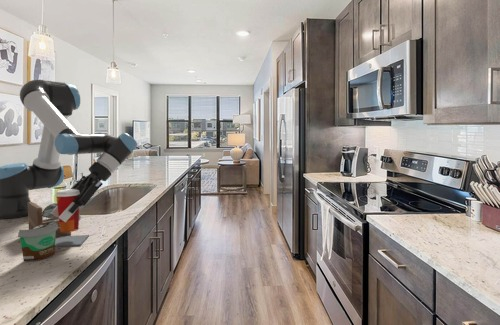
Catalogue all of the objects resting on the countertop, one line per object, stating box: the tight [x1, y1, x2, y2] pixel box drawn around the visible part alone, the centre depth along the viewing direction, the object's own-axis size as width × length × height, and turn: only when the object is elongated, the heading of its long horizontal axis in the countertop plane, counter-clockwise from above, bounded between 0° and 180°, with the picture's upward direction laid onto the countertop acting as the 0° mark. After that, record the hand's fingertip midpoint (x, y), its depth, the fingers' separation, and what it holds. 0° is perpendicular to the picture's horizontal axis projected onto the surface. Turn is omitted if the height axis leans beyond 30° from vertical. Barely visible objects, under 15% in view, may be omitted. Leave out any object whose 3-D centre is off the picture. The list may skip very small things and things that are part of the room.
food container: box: [17, 219, 58, 262], centre depth 100 cm, size 12×6×10 cm, turn 170°
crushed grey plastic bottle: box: [42, 202, 82, 222], centre depth 137 cm, size 13×7×25 cm
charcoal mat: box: [55, 234, 90, 248], centre depth 114 cm, size 10×10×1 cm
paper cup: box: [55, 188, 80, 233], centre depth 113 cm, size 8×8×14 cm
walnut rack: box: [27, 201, 72, 239], centre depth 121 cm, size 10×13×12 cm
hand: (57, 217), depth 110 cm, fingers closed on paper cup, 8 cm apart
